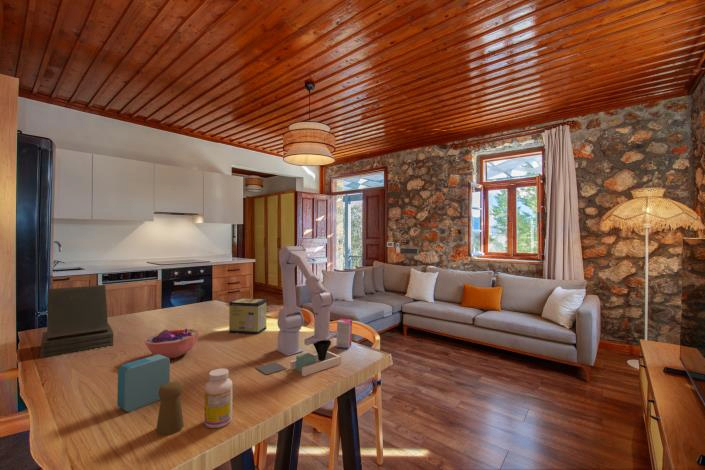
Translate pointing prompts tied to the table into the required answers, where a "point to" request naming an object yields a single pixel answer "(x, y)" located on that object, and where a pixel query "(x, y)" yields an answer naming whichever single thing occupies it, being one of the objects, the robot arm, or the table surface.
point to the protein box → (247, 316)
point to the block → (304, 360)
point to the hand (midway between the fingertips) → (321, 360)
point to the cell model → (172, 342)
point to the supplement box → (344, 333)
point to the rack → (319, 364)
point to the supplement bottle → (218, 399)
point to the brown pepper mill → (170, 409)
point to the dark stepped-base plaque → (76, 321)
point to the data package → (142, 381)
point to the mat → (270, 368)
